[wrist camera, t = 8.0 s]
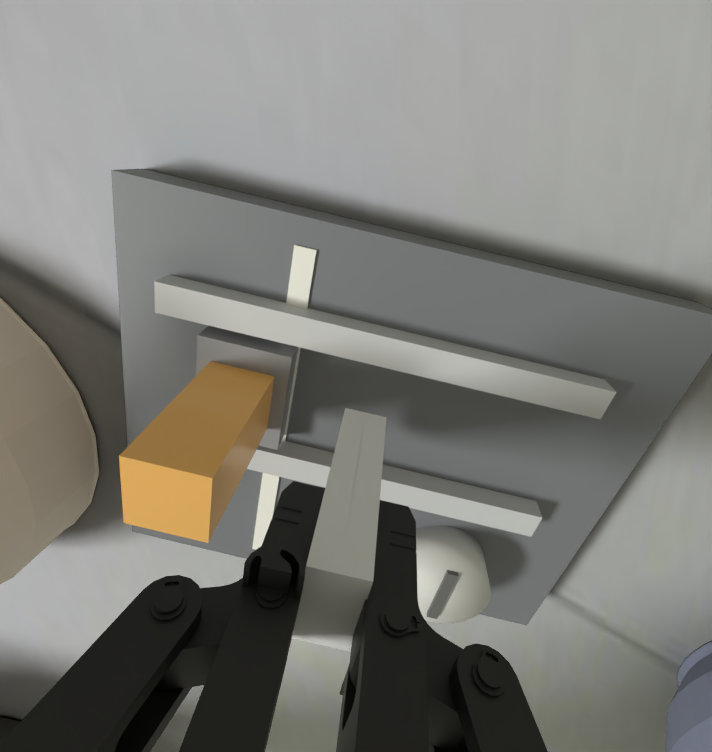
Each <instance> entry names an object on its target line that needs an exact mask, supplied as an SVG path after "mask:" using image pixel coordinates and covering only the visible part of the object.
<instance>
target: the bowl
mask: <svg viewBox="0 0 712 752" xmlns="http://www.w3.org/2000/svg"><path fill="white" fill-rule="evenodd" d="M677 680H678V687H679V688H678V690H677V692H676V694H675V696H674V698H673V700H672V702H671V704H670V706H669V709H668V713H667V717H666V752H712V641H711V642H709V643H706V644H705V645H703V646H701V647H700V648H698V649H697V650H695V651H694V652H693V653H692V654H691V655H690V656H689V657H687V658H686V659H685V660H684V662H683V664H682V665H681V667H680V668H679V672H678V676H677Z"/></svg>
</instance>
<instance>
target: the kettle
mask: <svg viewBox="0 0 712 752" xmlns="http://www.w3.org/2000/svg"><path fill="white" fill-rule="evenodd" d="M98 476H99V465H98V455H97V445H96V435H95V432H94V430H93V427H92V425H91V422H90V420H89V417H88V414H87V412H86V409H85V407H84V404H83V402H82V399H81V397H80V394H79V392H78V390H77V388H76V387H75V385H74V384H73V382H72V381H71V379H70V378H69V376H68V375H67V373H66V372H65V370H64V369H63V367H62V366H61V364H60V363H59V361H58V360H57V358H56V357H55V355H54V354H53V353H52V351H51V350H50V348H49V347H48V345H47V344H46V343H45V342H44V341H43V340H42V339H41V338H40V337H39V336H38V335H37V334H36V333H35V332H34V331H33V330H32V329H31V328H30V327H29V326H28V325H27V324H26V323H25V322H24V321H23V320H22V318H21V317H20V316H19V315H18V314H17V313H16V312H15V311H14V310H13V309H12V308H11V307H10V306H9V305H8V304H7V303H6V302H5V301H4V300H3V299H1V298H0V584H1V583H3V582H5V581H7V580H9V579H11V578H12V577H14V576H15V575H16V574H17V573H18V572H19V571H20V570H22V569H23V568H24V567H25V566H26V565H27V564H28V563H29V562H30V561H31V560H32V559H34V558H35V557H36V556H37V555H38V554H39V553H40V552H41V551H42V550H43V549H45V548H46V547H47V546H48V545H49V544H50V543H51V542H52V541H53V540H54V539H56V538H57V537H58V536H59V535H60V534H61V533H62V532H63V531H64V530H65V529H67V528H68V527H70V526H72V525H73V524H74V523H75V522H76V521H77V520H78V518H79V517H80V516H81V515H82V513H83V512H84V511H85V510H86V509H87V507H88V506H89V505H90V504H91V502H92V498H93V494H94V491H95V487H96V483H97V480H98Z"/></svg>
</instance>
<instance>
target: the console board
mask: <svg viewBox="0 0 712 752" xmlns="http://www.w3.org/2000/svg"><path fill="white" fill-rule="evenodd" d="M111 172H112V189H113V206H114V223H115V241H116V258H117V275H118V292H119V309H120V326H121V344H122V361H123V378H124V395H125V412H126V430H127V447H128V446H129V445H130V444H131V443H132V442H133V441H134V440H135V439H136V438H137V437H138V436H139V435H140V434H141V432H142V431H143V430H144V429H145V428H146V427H147V426H148V425H149V424H150V423H151V422H152V421H153V420H154V419H155V418H156V417H157V416H158V415H159V414H160V413H161V412H162V411H163V410H164V409H165V408H166V407H167V406H168V405H169V404H170V403H171V402H172V400H173V399H174V398H175V397H176V396H177V395H178V394H179V393H180V392H181V391H182V390H183V389H184V388H185V387H186V386H187V385H188V384H189V383H190V382H191V381H192V380H193V379H194V378H195V377H196V359H197V335H198V334H199V333H201V332H202V331H203V330H204V329H205V328H206V327H208V326H213V327H217V328H221V329H225V330H229V331H234V332H238V333H242V334H246V335H250V336H254V337H259V338H263V339H267V340H271V341H275V342H279V343H284V344H288V345H292V346H296V347H298V353H297V359H296V365H295V371H294V378H293V384H292V390H291V396H290V402H289V409H288V415H287V421H286V427H285V433H284V437H283V439H282V441H281V443H280V446H279V448H278V450H275V449H271V448H267V447H263V446H258V448H257V450H256V452H255V454H254V456H253V457H252V459H251V461H250V463H249V465H248V467H247V469H246V471H245V473H244V475H243V477H242V479H241V481H240V483H239V485H238V487H237V489H236V490H235V492H234V494H233V496H232V498H231V500H230V502H229V504H228V506H227V508H226V510H225V512H224V514H223V516H222V518H221V520H220V521H219V523H218V525H217V527H216V529H215V531H214V533H213V535H212V537H211V539H210V541H209V543H206V542H202V541H198V540H193V539H189V538H185V537H181V536H177V535H172V534H168V533H164V532H160V531H155V530H151V529H147V528H143V527H139V526H134V525H132V531H133V532H137V533H141V534H145V535H150V536H154V537H158V538H162V539H166V540H171V541H175V542H179V543H183V544H187V545H192V546H196V547H200V548H204V549H208V550H213V551H217V552H221V553H225V554H229V555H234V556H238V557H242V558H246V559H247V558H248V557H249V555H250V554H251V553H252V552H253V551H255V550H256V549H258V548H259V547H261V546H262V543H263V541H264V538H265V535H266V533H267V530H268V527H269V525H270V522H271V520H272V517H273V514H274V511H275V509H276V507H277V503H278V501H279V498H280V495H281V493H282V491H283V490H284V489H285V488H286V487H287V486H288V485H289V484H291V483H292V482H293V481H296V482H300V483H304V484H309V485H313V486H317V487H322V488H326V483H327V479H328V475H329V471H330V467H331V463H332V459H333V455H334V451H335V447H336V443H337V439H338V435H339V431H340V427H341V423H342V419H343V415H344V411H345V408H348V409H352V410H357V411H361V412H365V413H370V414H374V415H378V416H383V417H386V430H385V442H384V454H383V467H382V479H381V491H380V500H382V501H387V502H391V503H395V504H400V505H404V506H408V507H409V508H410V510H411V512H412V514H413V517H414V519H415V521H416V552H417V595H418V605H419V609H420V611H421V614H422V616H423V618H424V619H425V621H429V622H434V623H456V622H461V621H465V620H468V619H470V618H473V617H475V616H476V615H478V614H482V615H486V616H490V617H494V618H498V619H503V620H507V621H511V622H515V623H519V624H524V625H527V624H528V623H529V621H530V620H531V618H532V617H533V615H534V614H535V613H536V611H537V610H538V608H539V607H540V605H541V604H542V602H543V601H544V599H545V598H546V596H547V595H548V593H549V592H550V591H551V589H552V588H553V586H554V585H555V583H556V582H557V580H558V579H559V577H560V576H561V574H562V573H563V571H564V570H565V568H566V567H567V566H568V564H569V563H570V561H571V560H572V558H573V557H574V555H575V554H576V552H577V551H578V549H579V548H580V546H581V545H582V543H583V542H584V541H585V539H586V538H587V536H588V535H589V533H590V532H591V530H592V529H593V527H594V526H595V524H596V523H597V521H598V520H599V519H600V517H601V516H602V514H603V513H604V511H605V510H606V508H607V507H608V505H609V504H610V502H611V501H612V499H613V498H614V496H615V495H616V494H617V492H618V491H619V489H620V488H621V486H622V485H623V483H624V482H625V480H626V479H627V477H628V476H629V474H630V473H631V471H632V470H633V469H634V467H635V466H636V464H637V463H638V461H639V460H640V458H641V457H642V455H643V454H644V452H645V451H646V449H647V448H648V447H649V445H650V444H651V442H652V441H653V439H654V438H655V436H656V435H657V433H658V432H659V430H660V429H661V427H662V426H663V424H664V423H665V422H666V420H667V419H668V417H669V416H670V414H671V413H672V411H673V410H674V408H675V407H676V405H677V404H678V402H679V401H680V399H681V398H682V397H683V395H684V394H685V392H686V391H687V389H688V388H689V386H690V385H691V383H692V382H693V380H694V379H695V377H696V376H697V375H698V373H699V372H700V370H701V369H702V367H703V366H704V364H705V363H706V361H707V360H708V358H709V357H710V355H711V354H712V309H711V308H709V307H707V306H705V305H703V304H701V303H698V302H694V301H690V300H686V299H682V298H677V297H673V296H669V295H665V294H661V293H657V292H653V291H648V290H644V289H640V288H636V287H632V286H628V285H624V284H619V283H615V282H611V281H607V280H603V279H599V278H594V277H590V276H586V275H582V274H578V273H574V272H570V271H565V270H561V269H557V268H553V267H549V266H545V265H541V264H536V263H532V262H528V261H524V260H520V259H516V258H512V257H507V256H503V255H499V254H495V253H491V252H487V251H482V250H478V249H474V248H470V247H466V246H462V245H458V244H453V243H449V242H445V241H441V240H437V239H433V238H429V237H424V236H420V235H416V234H412V233H408V232H404V231H400V230H395V229H391V228H387V227H383V226H379V225H375V224H370V223H366V222H362V221H358V220H354V219H350V218H346V217H341V216H337V215H333V214H329V213H325V212H321V211H317V210H312V209H308V208H304V207H300V206H296V205H292V204H287V203H283V202H279V201H275V200H271V199H267V198H263V197H258V196H254V195H250V194H246V193H242V192H238V191H234V190H229V189H225V188H221V187H217V186H213V185H209V184H205V183H200V182H196V181H192V180H188V179H184V178H180V177H175V176H171V175H167V174H163V173H159V172H155V171H151V170H146V169H126V170H111Z"/></svg>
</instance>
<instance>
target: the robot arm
mask: <svg viewBox="0 0 712 752" xmlns="http://www.w3.org/2000/svg"><path fill="white" fill-rule="evenodd" d="M385 430H386V417H383V416H378V415H374V414H370V413H365V412H361V411H357V410H352V409H348V408H345V411H344V415H343V419H342V423H341V427H340V431H339V435H338V439H337V443H336V447H335V451H334V455H333V459H332V463H331V467H330V471H329V475H328V479H327V483H326V488H322V487H317V486H313V485H309V484H304V483H300V482H296V481H293V482H292V483H291V484H289V485H288V486H287V487H286V488H285V489H284V490H283V491H282V493H281V495H280V498H279V501H278V503H277V507H276V509H275V511H274V514H273V517H272V520H271V522H270V525H269V527H268V530H267V533H266V535H265V538H264V541H263V543H262V546H261V547H259V548H258V549H256V550H255V551H253V552H252V553H251V554H250V555H249V557H248V558H247V560H246V562H245V566H244V574H243V578H242V579H240V580H239V581H237V582H235V583H232V584H230V585H226V586H220V587H210V588H199V586H198V584H196V583H195V582H194V581H193V580H192V579H190V578H187V577H183V576H180V575H177V576H166V577H164V578H161V579H159V580H156V581H154V582H153V583H151V584H150V585H149V586H147V587H146V588H145V589H144V590H143V591H142V592H141V593H140V594H139V595H138V596H137V597H136V598H135V599H134V600H133V601H132V602H131V604H130V605H129V606H128V607H127V608H126V609H125V610H124V611H123V612H122V613H121V614H120V615H119V616H118V618H117V619H116V620H115V621H114V622H113V623H112V624H111V625H110V626H109V627H108V628H107V629H106V630H105V632H104V633H103V634H102V635H101V636H100V637H99V638H98V639H97V640H96V641H95V642H94V643H93V644H92V646H91V647H90V648H89V649H88V650H87V651H86V652H85V653H84V654H83V655H82V656H81V657H80V658H79V660H78V661H77V662H76V663H75V664H74V665H73V666H72V667H71V668H70V669H69V670H68V671H67V672H66V674H65V675H64V676H63V677H62V678H61V679H60V680H59V681H58V682H57V683H56V684H55V685H54V687H53V688H52V689H51V690H50V691H49V692H48V693H47V694H46V695H45V696H44V697H43V698H42V699H41V701H40V702H39V703H38V704H37V705H36V706H35V707H34V708H33V709H32V710H31V711H30V712H29V713H28V715H27V716H26V717H25V718H24V719H23V720H22V721H21V722H19V721H15V720H11V719H7V718H2V717H0V752H150V751H151V749H152V747H153V746H154V744H155V743H156V741H157V740H158V738H159V737H160V735H161V734H162V732H163V731H164V729H165V728H166V726H167V724H168V723H169V721H170V720H171V718H172V717H173V715H174V714H175V712H176V711H177V709H178V708H179V706H180V705H181V703H182V701H183V700H184V698H185V697H186V695H187V694H188V692H189V691H190V689H191V688H192V687H194V686H200V685H204V688H203V690H202V693H201V696H200V698H199V701H198V703H197V706H196V709H195V711H194V714H193V716H192V719H191V722H190V724H189V727H188V730H187V732H186V735H185V737H184V740H183V743H182V745H181V748H180V750H179V752H265V749H266V745H267V741H268V736H269V732H270V728H271V724H272V720H273V715H274V711H275V707H276V703H277V699H278V694H279V690H280V686H281V682H282V678H283V673H284V669H285V665H286V660H287V656H288V652H289V647H290V643H291V639H292V638H293V639H298V640H302V641H306V642H311V643H315V644H319V645H323V646H328V647H332V648H336V649H341V650H345V651H350V648H351V656H350V664H349V667H348V670H347V673H346V676H345V678H344V681H343V684H342V687H341V690H340V695H343V699H342V708H341V716H340V724H339V732H338V740H337V748H336V752H548V751H547V749H546V747H545V744H544V742H543V739H542V737H541V734H540V732H539V729H538V727H537V724H536V722H535V720H534V717H533V715H532V712H531V710H530V707H529V705H528V702H527V700H526V698H525V695H524V693H523V690H522V688H521V685H520V683H519V680H518V678H517V676H516V674H515V672H514V670H513V669H512V667H511V665H510V663H509V662H508V661H507V660H506V659H505V658H504V657H503V656H502V655H501V654H500V653H499V652H498V651H496V650H494V649H492V648H491V647H489V646H486V645H481V644H473V645H469V646H466V647H465V648H464V649H462V648H460V647H458V646H457V645H455V644H453V643H452V642H450V641H448V640H447V639H445V638H443V637H442V636H440V635H439V634H438V633H436V632H435V631H434V630H433V629H432V628H431V627H430V626H429V625H428V624H427V622H426V621H425V619H424V618H423V616H422V614H421V611H420V609H419V605H418V595H417V552H416V521H415V519H414V517H413V514H412V512H411V510H410V508H409V507H408V506H404V505H400V504H395V503H391V502H387V501H382V500H380V491H381V479H382V467H383V454H384V442H385ZM351 645H352V647H351Z"/></svg>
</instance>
